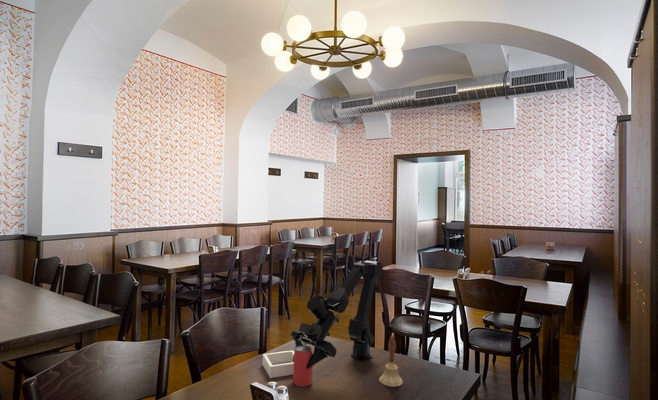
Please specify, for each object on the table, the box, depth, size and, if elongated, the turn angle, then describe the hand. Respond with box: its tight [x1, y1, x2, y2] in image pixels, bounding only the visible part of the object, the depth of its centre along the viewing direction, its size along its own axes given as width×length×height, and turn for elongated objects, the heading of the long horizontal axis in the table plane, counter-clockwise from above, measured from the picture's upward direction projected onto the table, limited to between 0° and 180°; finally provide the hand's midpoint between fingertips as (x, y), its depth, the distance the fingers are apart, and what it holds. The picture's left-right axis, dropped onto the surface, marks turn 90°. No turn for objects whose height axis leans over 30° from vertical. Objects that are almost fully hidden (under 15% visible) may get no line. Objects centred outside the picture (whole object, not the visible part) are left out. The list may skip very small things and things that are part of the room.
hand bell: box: [378, 335, 404, 388], centre depth 135 cm, size 8×8×16 cm
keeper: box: [262, 350, 295, 379], centre depth 143 cm, size 12×12×4 cm
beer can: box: [292, 345, 314, 388], centre depth 132 cm, size 7×7×12 cm
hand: (300, 365), depth 131 cm, fingers closed on beer can, 7 cm apart
